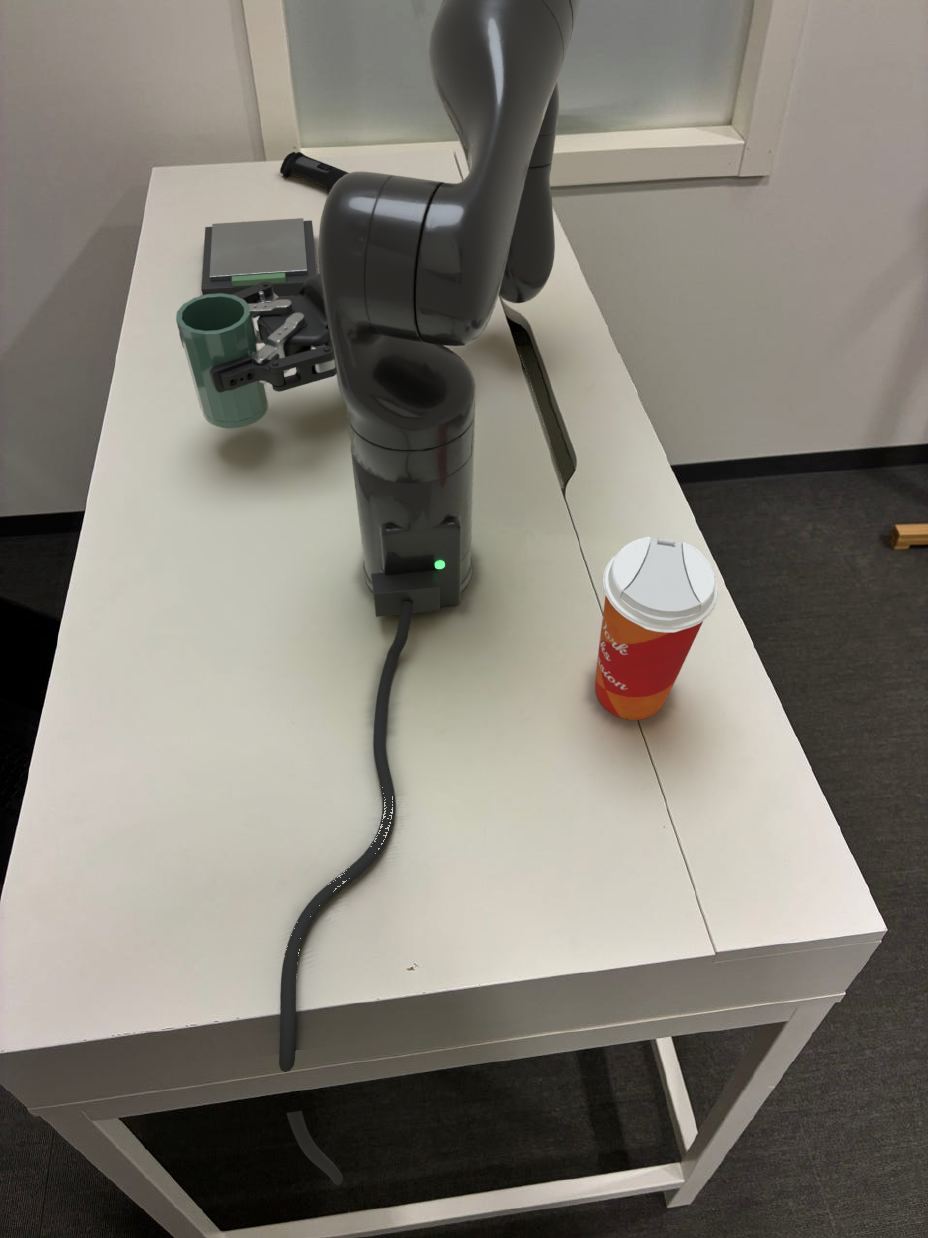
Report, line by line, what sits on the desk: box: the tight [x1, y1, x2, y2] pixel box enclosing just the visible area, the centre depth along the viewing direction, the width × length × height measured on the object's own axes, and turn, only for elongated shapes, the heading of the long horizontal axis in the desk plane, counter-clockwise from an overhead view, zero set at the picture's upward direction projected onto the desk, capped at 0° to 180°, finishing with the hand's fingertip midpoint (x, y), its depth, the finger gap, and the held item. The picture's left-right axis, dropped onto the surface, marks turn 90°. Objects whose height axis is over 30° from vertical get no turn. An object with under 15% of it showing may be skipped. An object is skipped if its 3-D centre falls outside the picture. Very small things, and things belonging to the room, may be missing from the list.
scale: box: [200, 217, 318, 297], centre depth 105 cm, size 14×13×3 cm
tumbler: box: [175, 293, 269, 429], centre depth 79 cm, size 6×6×10 cm
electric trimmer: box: [279, 151, 349, 193], centre depth 118 cm, size 4×16×3 cm, turn 55°
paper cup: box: [594, 536, 719, 721], centre depth 64 cm, size 8×8×14 cm
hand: (198, 361), depth 78 cm, fingers closed on tumbler, 6 cm apart
